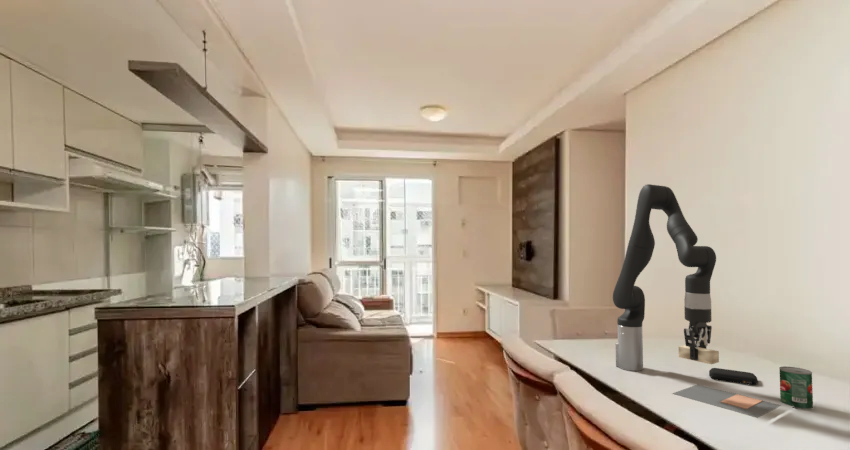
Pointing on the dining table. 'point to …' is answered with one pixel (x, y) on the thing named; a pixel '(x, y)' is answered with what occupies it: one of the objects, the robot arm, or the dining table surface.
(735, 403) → the mat
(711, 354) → the block
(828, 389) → the dining table surface
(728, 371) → the carrying case or bag
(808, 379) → the canned tomato
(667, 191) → the robot arm
